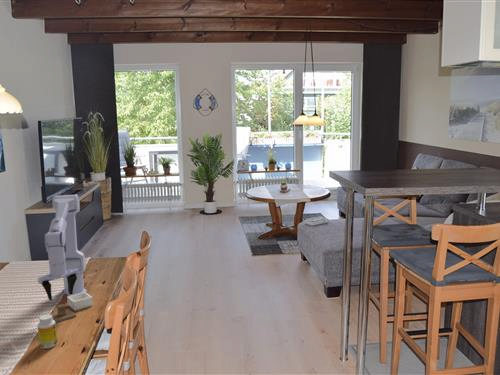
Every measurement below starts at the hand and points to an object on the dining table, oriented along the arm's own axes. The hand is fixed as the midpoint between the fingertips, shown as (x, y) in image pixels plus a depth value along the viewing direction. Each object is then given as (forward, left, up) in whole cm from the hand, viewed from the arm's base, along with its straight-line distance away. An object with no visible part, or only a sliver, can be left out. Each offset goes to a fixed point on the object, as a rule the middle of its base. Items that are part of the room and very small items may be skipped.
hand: (60, 296), depth 175 cm
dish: (-6, +9, -8) cm, 14 cm away
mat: (0, 0, -8) cm, 9 cm away
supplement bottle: (+19, -11, -9) cm, 24 cm away
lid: (0, 0, -8) cm, 8 cm away
